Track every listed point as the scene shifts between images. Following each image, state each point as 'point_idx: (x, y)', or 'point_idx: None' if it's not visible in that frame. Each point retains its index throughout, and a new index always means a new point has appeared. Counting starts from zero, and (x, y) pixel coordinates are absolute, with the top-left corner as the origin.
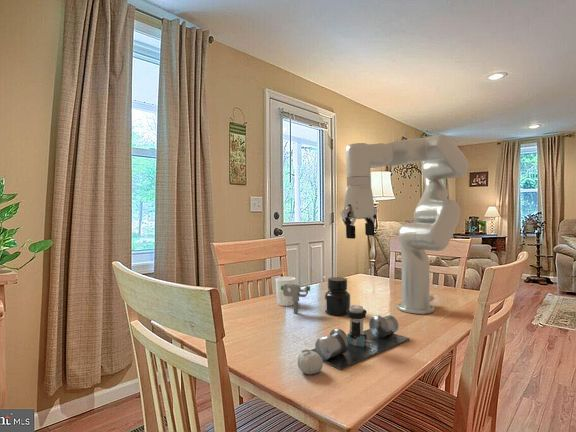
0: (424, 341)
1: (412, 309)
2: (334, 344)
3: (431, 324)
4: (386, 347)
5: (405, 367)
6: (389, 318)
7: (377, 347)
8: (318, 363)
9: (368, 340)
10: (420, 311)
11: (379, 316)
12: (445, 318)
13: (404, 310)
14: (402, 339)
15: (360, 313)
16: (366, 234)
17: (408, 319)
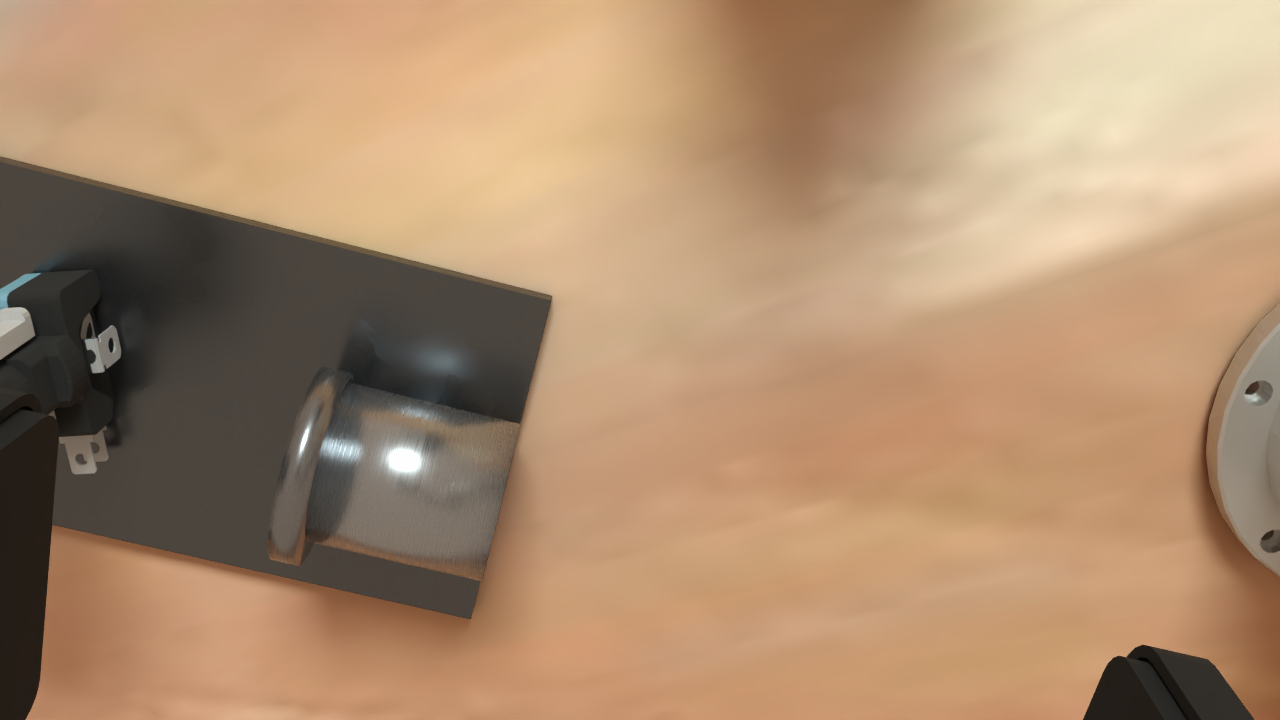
0: (518, 697)
1: (1259, 446)
2: None
3: (954, 649)
4: (179, 543)
5: None
6: (415, 549)
7: (129, 493)
8: None
9: (83, 450)
10: (1230, 522)
11: (283, 519)
12: None
13: (1234, 368)
14: (412, 586)
15: None
16: (1101, 696)
17: (1001, 459)
